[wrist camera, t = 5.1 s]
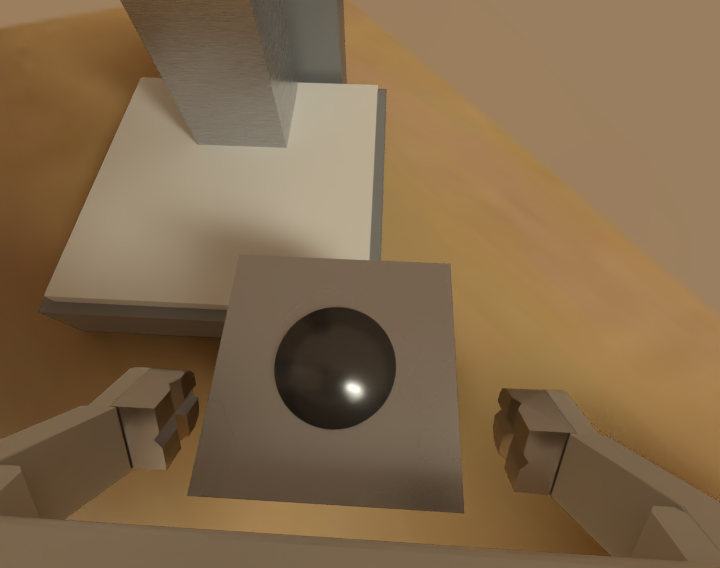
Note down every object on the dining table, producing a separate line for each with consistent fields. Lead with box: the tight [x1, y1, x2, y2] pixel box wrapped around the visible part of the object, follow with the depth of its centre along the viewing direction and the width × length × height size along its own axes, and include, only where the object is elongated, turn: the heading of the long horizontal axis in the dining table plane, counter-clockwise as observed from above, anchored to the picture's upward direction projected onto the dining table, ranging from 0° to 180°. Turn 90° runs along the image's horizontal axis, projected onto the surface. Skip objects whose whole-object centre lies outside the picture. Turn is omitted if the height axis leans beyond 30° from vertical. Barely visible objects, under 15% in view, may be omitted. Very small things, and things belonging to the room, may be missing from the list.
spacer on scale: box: [120, 0, 298, 148], centre depth 14 cm, size 4×4×10 cm
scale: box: [39, 0, 387, 338], centre depth 17 cm, size 14×17×7 cm
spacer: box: [187, 254, 464, 513], centre depth 11 cm, size 4×4×10 cm
